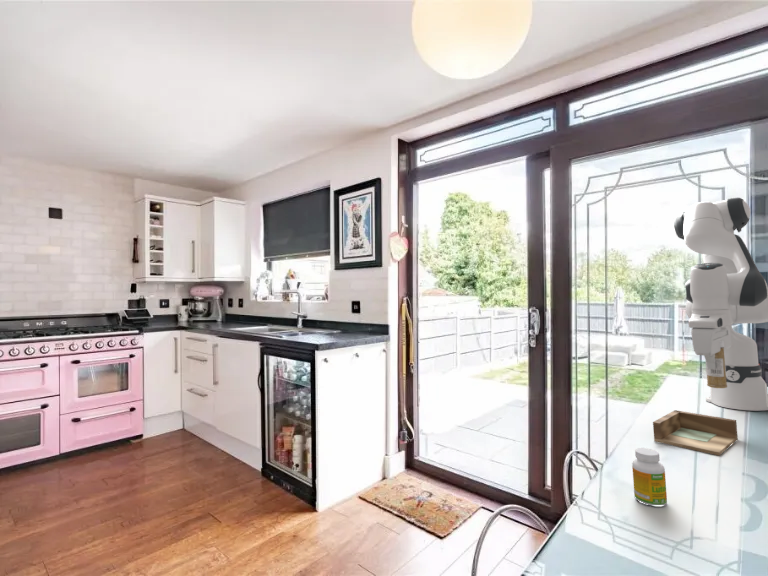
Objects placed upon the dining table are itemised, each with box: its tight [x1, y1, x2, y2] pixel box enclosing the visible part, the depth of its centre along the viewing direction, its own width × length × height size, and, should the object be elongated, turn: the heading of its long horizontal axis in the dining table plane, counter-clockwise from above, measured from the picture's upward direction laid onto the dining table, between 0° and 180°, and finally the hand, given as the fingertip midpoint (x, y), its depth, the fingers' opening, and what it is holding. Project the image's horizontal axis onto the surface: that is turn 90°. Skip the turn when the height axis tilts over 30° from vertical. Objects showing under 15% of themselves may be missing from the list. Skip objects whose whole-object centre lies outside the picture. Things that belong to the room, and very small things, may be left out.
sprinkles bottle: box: [704, 340, 727, 388], centre depth 115 cm, size 5×5×14 cm
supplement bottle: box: [631, 447, 668, 506], centre depth 79 cm, size 5×5×10 cm
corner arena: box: [652, 410, 739, 456], centre depth 108 cm, size 16×14×5 cm
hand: (715, 367), depth 115 cm, fingers closed on sprinkles bottle, 4 cm apart
